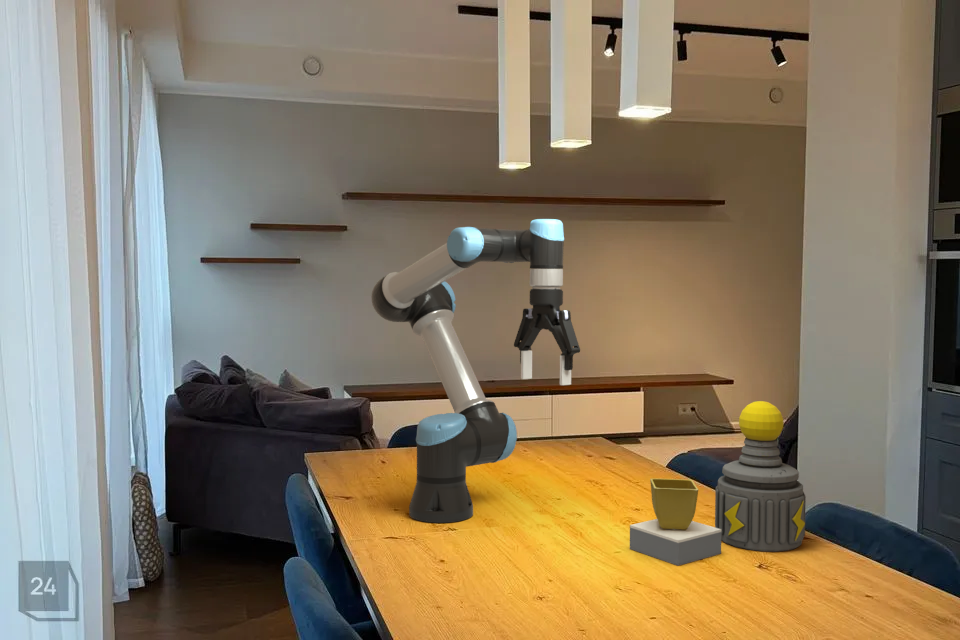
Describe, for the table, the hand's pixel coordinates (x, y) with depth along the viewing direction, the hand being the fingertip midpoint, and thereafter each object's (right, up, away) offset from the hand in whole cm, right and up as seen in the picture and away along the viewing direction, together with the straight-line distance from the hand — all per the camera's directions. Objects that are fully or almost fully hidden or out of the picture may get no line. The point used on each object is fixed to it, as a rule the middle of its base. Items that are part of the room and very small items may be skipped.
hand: (545, 381), depth 196 cm
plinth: (+25, -34, -18) cm, 46 cm away
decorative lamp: (+45, -34, -10) cm, 57 cm away
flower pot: (+25, -29, -18) cm, 42 cm away
